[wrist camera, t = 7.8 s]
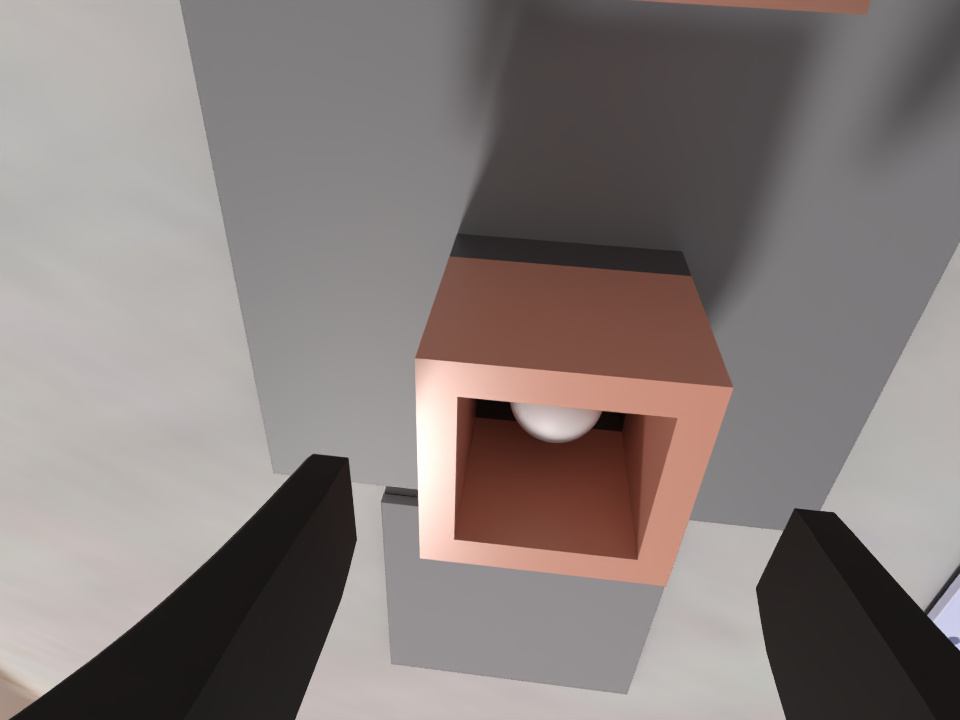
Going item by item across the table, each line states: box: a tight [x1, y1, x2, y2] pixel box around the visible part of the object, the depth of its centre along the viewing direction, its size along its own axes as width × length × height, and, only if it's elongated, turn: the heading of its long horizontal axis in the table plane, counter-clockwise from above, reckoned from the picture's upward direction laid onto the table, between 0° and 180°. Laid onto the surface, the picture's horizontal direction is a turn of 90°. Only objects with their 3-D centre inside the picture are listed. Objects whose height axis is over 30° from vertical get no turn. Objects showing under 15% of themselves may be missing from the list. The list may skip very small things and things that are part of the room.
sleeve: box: [415, 234, 733, 586], centre depth 13 cm, size 5×5×5 cm
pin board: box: [180, 0, 960, 530], centre depth 12 cm, size 16×22×5 cm
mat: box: [381, 494, 665, 694], centre depth 24 cm, size 10×10×1 cm
